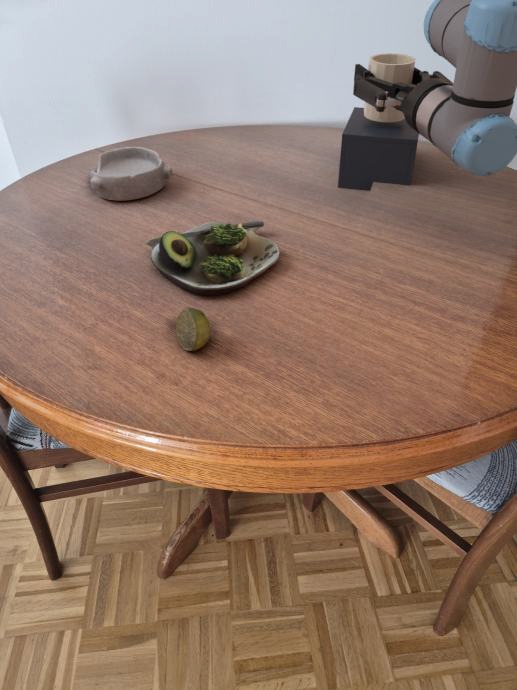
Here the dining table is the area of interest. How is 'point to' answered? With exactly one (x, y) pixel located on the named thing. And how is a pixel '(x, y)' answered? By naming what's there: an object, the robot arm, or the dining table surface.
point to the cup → (391, 71)
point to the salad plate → (213, 256)
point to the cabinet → (376, 152)
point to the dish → (129, 173)
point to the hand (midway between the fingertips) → (378, 71)
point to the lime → (192, 329)
